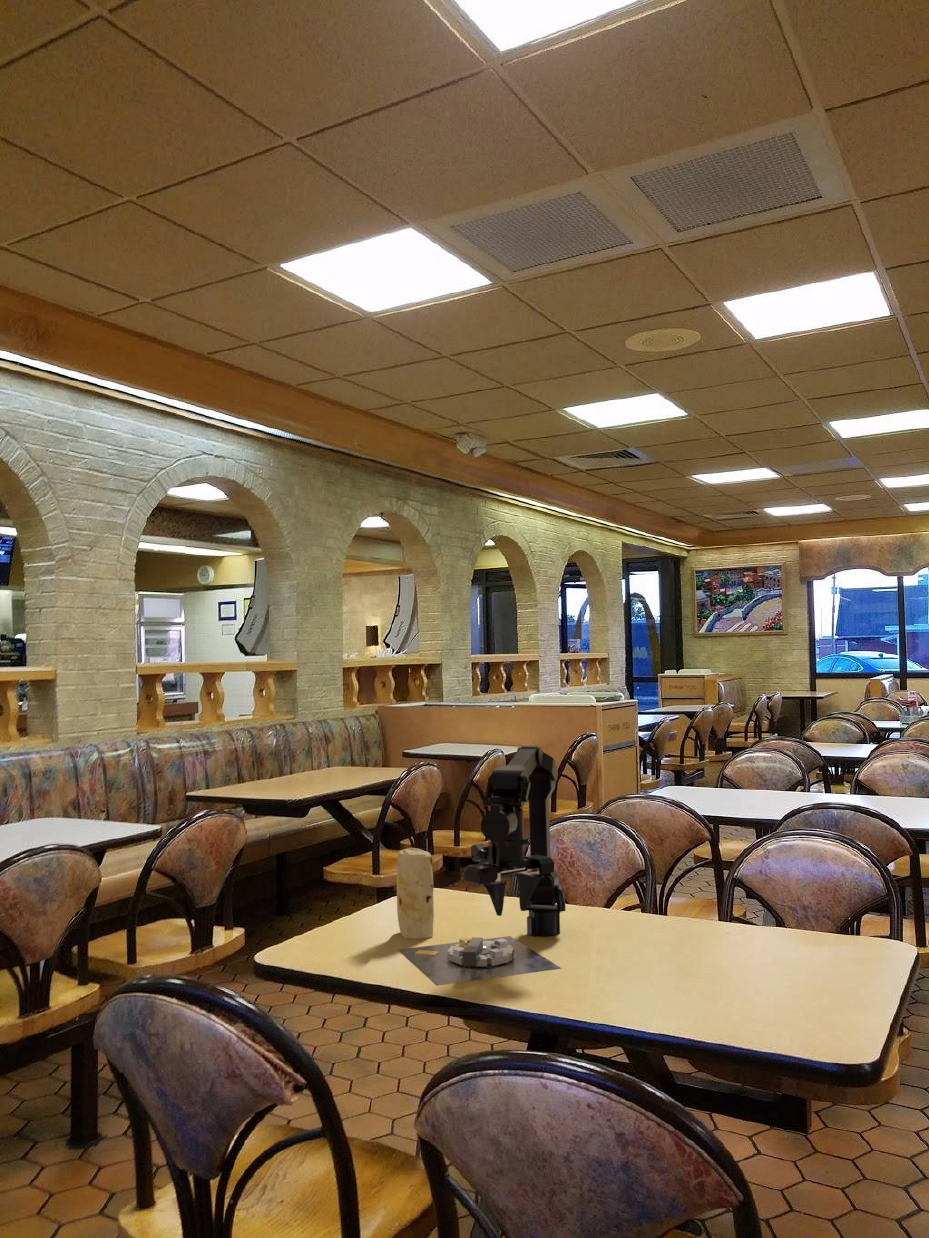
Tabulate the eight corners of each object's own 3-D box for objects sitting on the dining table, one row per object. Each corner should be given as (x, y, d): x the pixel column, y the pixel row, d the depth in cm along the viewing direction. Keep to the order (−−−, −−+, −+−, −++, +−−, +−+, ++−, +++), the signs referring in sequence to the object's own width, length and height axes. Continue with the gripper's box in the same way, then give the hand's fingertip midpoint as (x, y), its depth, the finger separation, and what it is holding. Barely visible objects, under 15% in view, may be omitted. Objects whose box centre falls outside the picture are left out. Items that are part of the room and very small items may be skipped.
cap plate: (510, 940, 216) (509, 924, 217) (561, 973, 192) (561, 955, 192) (397, 954, 207) (397, 938, 208) (436, 990, 183) (436, 972, 183)
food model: (441, 938, 219) (439, 848, 220) (422, 945, 214) (421, 853, 215) (407, 932, 225) (406, 844, 226) (388, 939, 219) (387, 849, 220)
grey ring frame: (455, 946, 208) (454, 923, 208) (516, 948, 206) (516, 924, 206) (435, 977, 187) (435, 950, 187) (503, 979, 185) (503, 952, 185)
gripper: (520, 823, 205) (522, 898, 204) (447, 833, 194) (448, 912, 193) (555, 829, 196) (557, 908, 195) (480, 840, 185) (482, 923, 184)
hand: (511, 913), depth 192 cm, fingers open, 6 cm apart
